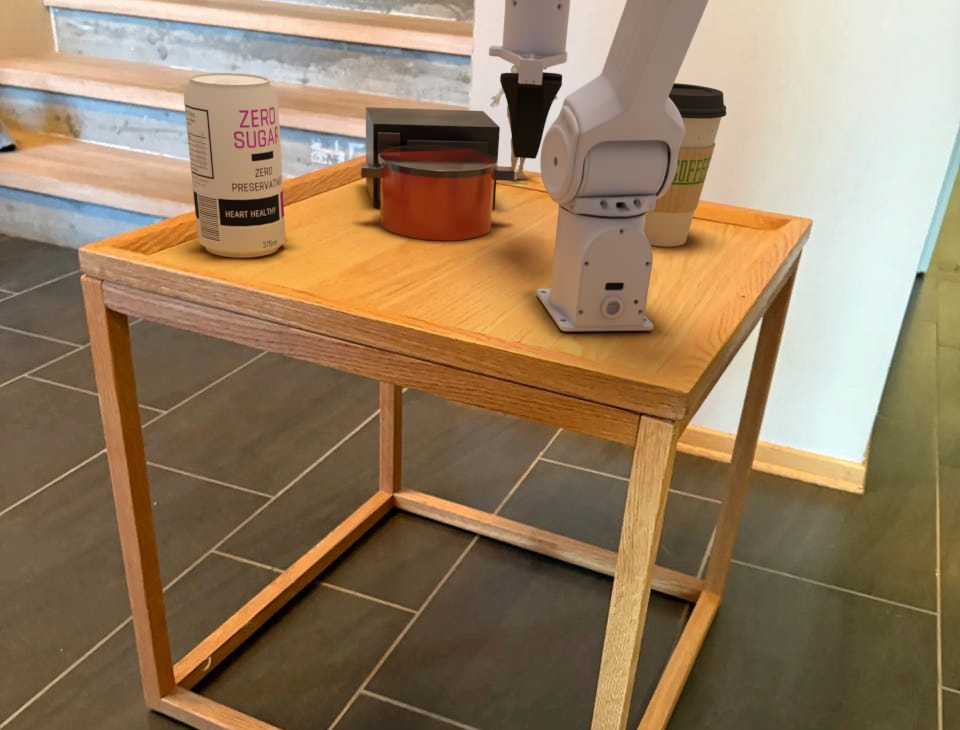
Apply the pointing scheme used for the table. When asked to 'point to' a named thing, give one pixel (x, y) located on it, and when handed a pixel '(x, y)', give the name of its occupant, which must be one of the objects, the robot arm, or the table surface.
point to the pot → (436, 190)
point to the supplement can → (235, 163)
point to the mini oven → (426, 134)
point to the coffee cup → (687, 164)
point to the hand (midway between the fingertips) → (525, 156)
